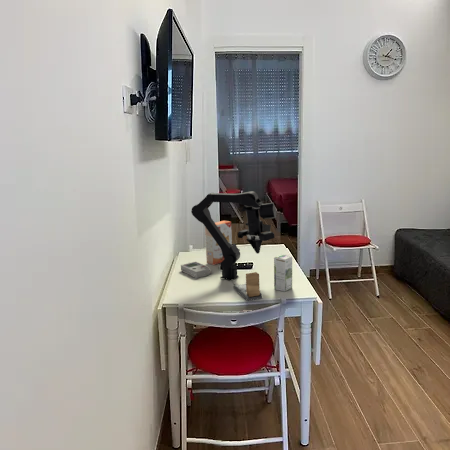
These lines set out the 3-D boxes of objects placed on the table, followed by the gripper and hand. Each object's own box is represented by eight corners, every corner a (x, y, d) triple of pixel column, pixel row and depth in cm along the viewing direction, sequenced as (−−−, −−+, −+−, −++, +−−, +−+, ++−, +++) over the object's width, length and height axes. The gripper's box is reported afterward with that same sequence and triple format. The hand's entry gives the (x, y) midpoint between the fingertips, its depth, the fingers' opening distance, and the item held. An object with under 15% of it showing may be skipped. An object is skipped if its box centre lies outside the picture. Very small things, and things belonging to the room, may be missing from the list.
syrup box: (281, 285, 192) (280, 253, 189) (292, 287, 189) (292, 255, 186) (274, 289, 188) (273, 257, 185) (285, 292, 184) (285, 259, 181)
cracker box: (214, 265, 225) (212, 226, 220) (206, 263, 229) (204, 224, 225) (233, 259, 234) (231, 221, 230) (225, 257, 239) (223, 219, 234)
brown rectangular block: (246, 294, 180) (245, 273, 178) (256, 292, 181) (256, 272, 179) (249, 297, 177) (248, 275, 175) (259, 295, 178) (259, 274, 176)
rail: (233, 288, 191) (233, 282, 191) (247, 286, 193) (247, 280, 193) (247, 301, 177) (247, 294, 176) (262, 298, 179) (262, 292, 178)
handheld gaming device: (196, 279, 207) (195, 271, 206) (180, 271, 219) (180, 264, 218) (211, 275, 212) (211, 267, 211) (195, 268, 224) (195, 261, 223)
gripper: (281, 216, 193) (285, 250, 196) (252, 215, 208) (256, 246, 210) (263, 222, 186) (267, 257, 189) (234, 220, 201) (239, 253, 204)
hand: (257, 253), depth 198 cm, fingers closed
